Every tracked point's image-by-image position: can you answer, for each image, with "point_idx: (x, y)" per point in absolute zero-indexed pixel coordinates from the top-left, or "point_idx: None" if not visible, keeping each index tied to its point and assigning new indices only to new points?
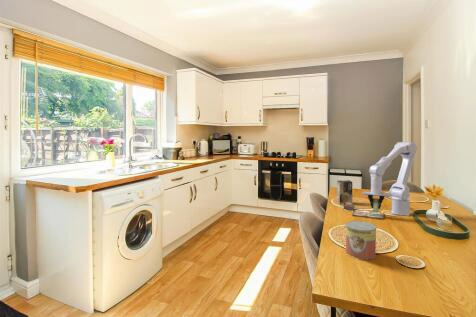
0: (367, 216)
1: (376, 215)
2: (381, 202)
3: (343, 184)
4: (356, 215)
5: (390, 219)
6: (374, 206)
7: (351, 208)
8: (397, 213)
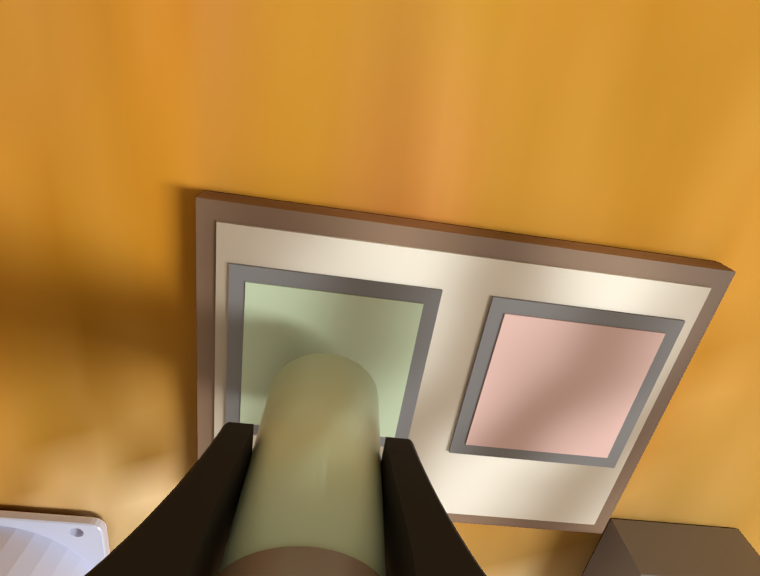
0: (480, 238)
1: (314, 326)
2: (109, 560)
3: None
4: (666, 258)
5: (87, 253)
6: (347, 455)
7: (654, 549)
8: (10, 531)
